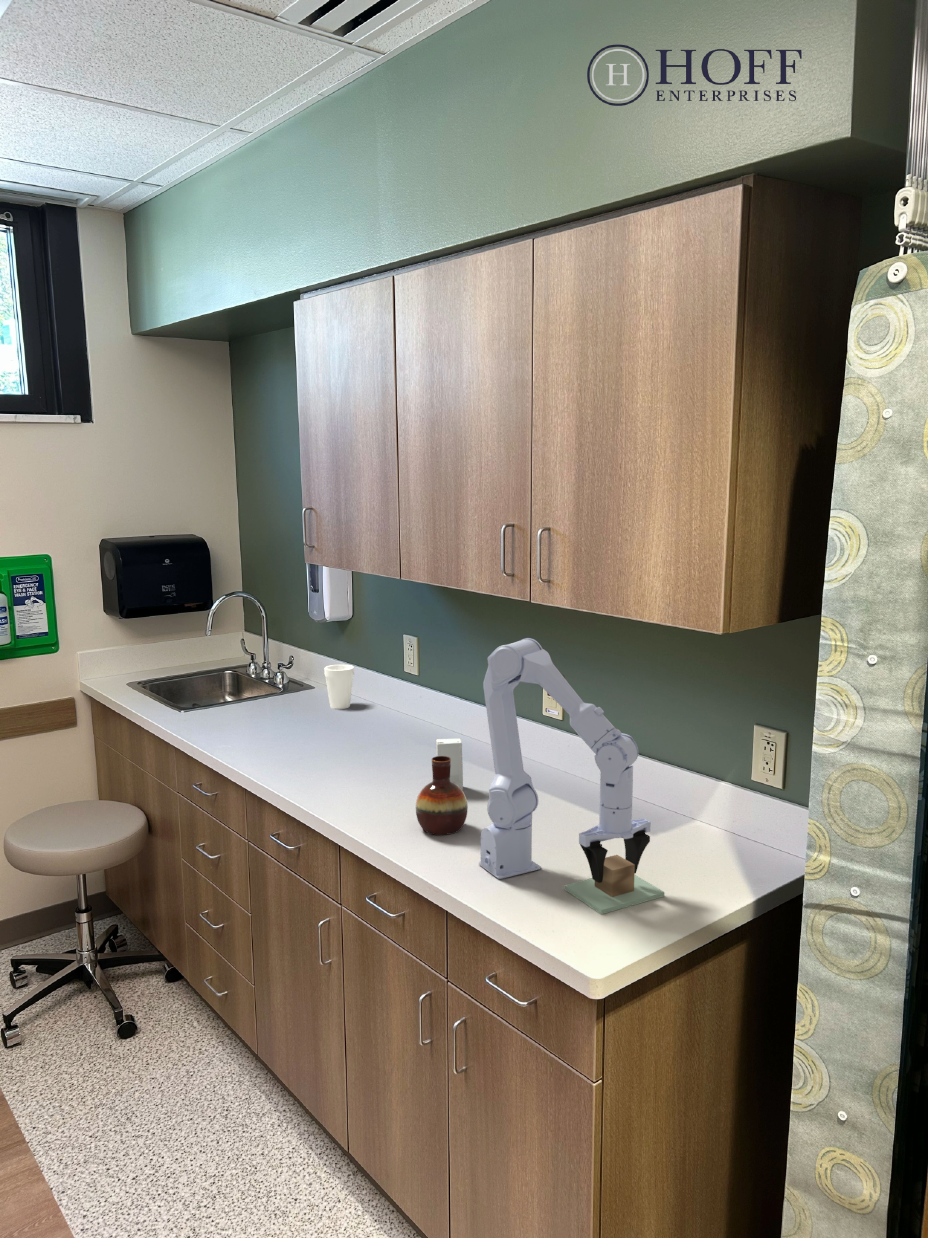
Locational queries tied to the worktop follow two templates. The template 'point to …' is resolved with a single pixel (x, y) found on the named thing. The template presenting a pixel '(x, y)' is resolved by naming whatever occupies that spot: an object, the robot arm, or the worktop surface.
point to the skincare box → (452, 758)
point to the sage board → (607, 903)
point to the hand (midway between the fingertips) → (614, 876)
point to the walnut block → (617, 876)
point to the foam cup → (339, 685)
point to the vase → (441, 801)
